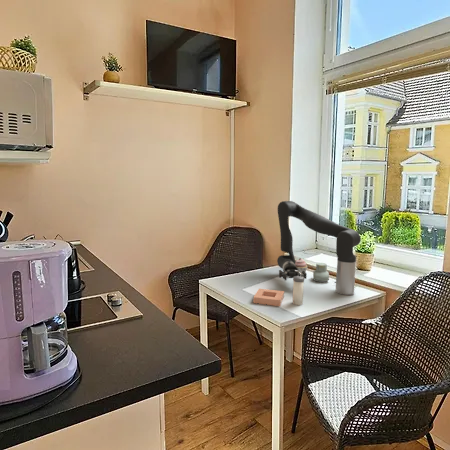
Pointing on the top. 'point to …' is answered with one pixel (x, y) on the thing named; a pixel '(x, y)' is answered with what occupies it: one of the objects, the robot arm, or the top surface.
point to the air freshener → (321, 272)
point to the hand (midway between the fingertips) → (294, 278)
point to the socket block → (269, 297)
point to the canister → (298, 290)
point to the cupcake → (301, 265)
